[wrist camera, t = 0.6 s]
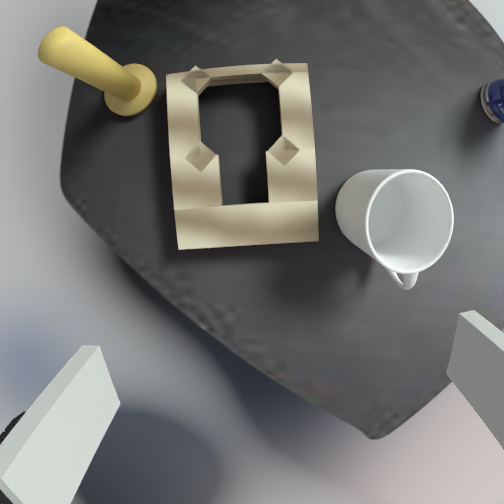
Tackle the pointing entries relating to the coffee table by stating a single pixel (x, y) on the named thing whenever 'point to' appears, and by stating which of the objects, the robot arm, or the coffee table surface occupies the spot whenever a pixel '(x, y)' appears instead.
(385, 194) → the mug
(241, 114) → the coffee table surface
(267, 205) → the keyhole board
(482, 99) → the pill bottle
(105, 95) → the headed peg
